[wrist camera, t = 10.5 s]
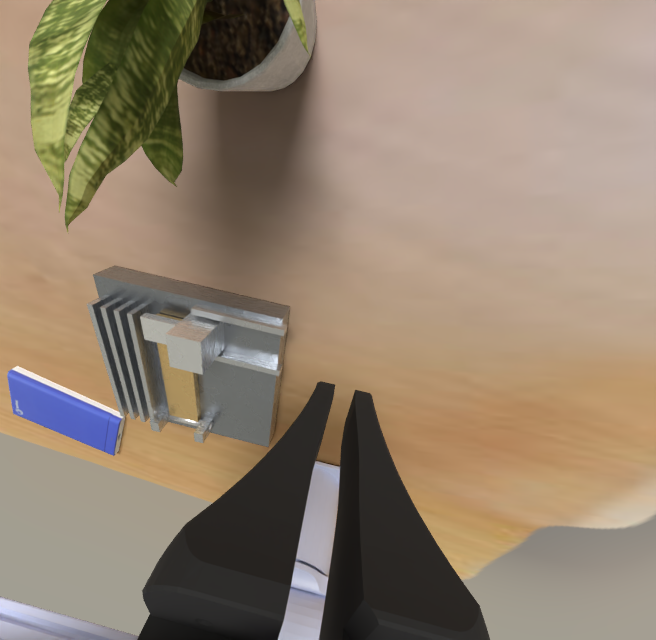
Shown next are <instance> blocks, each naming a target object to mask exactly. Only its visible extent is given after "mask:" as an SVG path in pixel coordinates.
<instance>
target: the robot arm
mask: <svg viewBox="0 0 656 640" xmlns="http://www.w3.org/2000/svg"><path fill="white" fill-rule="evenodd" d="M334 389H335V385H334V384H329V383H325V382H321V381H320V382H318V383H317V386H316V388H315V390H314V392H313V394H312V396H311V398H310V399H309V401H308V403H307V404H306V406H305V407H304V409H303V410H302V412H301V413H300V415H299V416H298V418H297V419H296V420H295V422H294V423H293V424H292V425H291V427H290V428H289V429H288V430H287V432H286V433H285V434H284V435H283V437H282V438H281V439H280V440H279V441H278V443H277V444H276V445H275V446H274V447H273V448H272V449H271V450H270V451H269V452H268V453H267V455H266V456H265V457H264V458H263V459H262V460H261V461H260V462H259V463H258V464H257V465H256V466H255V467H254V468H253V469H252V470H250V471H249V472H248V473H247V474H246V475H245V476H244V477H243V478H242V479H241V480H240V481H238V482H237V483H236V484H235V485H234V486H233V487H232V488H230V489H229V490H228V491H227V492H226V493H225V494H223V495H222V496H221V497H220V498H219V499H217V500H216V501H215V502H214V503H213V504H211V505H210V506H209V507H207V508H206V509H205V510H203V511H202V512H201V513H200V514H198V515H197V516H196V517H194V518H193V519H192V520H191V521H189V522H188V523H187V524H186V525H185V526H184V527H183V528H182V529H181V531H180V532H179V533H178V534H177V536H176V537H175V538H174V539H173V541H172V542H171V544H170V545H169V546H168V548H167V549H166V551H165V552H164V554H163V555H162V557H161V558H160V560H159V561H158V563H157V564H156V566H155V568H154V570H153V572H152V574H151V576H150V578H149V579H148V581H147V583H146V585H145V587H144V589H143V599H144V601H145V604H146V606H147V608H148V610H149V612H150V615H149V617H148V619H147V621H146V623H145V625H144V627H143V629H142V631H141V633H140V635H139V636H136V635H133V634H129V633H126V632H122V631H119V630H115V629H112V628H108V627H105V626H101V625H98V624H95V623H91V622H88V621H84V620H81V619H77V618H74V617H70V616H66V615H63V614H60V613H56V612H53V611H49V610H46V609H42V608H39V607H35V606H32V605H29V604H25V603H21V602H18V601H15V600H11V599H8V598H4V597H1V596H0V640H490V638H489V634H488V631H487V628H486V625H485V621H484V618H483V615H482V612H481V609H480V606H479V604H478V603H477V602H476V600H475V599H474V597H473V596H472V595H471V593H470V592H469V590H468V589H467V588H466V586H465V585H464V583H463V582H462V581H461V579H460V578H459V576H458V575H457V573H456V572H455V570H454V569H453V568H452V566H451V565H450V563H449V562H448V560H447V558H446V557H445V555H444V554H443V552H442V551H441V549H440V548H439V546H438V545H437V543H436V541H435V540H434V538H433V536H432V535H431V533H430V531H429V530H428V528H427V526H426V525H425V523H424V521H423V520H422V518H421V516H420V515H419V513H418V511H417V509H416V507H415V506H414V504H413V502H412V500H411V498H410V496H409V494H408V492H407V490H406V488H405V486H404V484H403V482H402V480H401V478H400V476H399V474H398V472H397V469H396V467H395V465H394V462H393V460H392V458H391V455H390V453H389V450H388V448H387V445H386V442H385V439H384V437H383V434H382V431H381V428H380V425H379V422H378V418H377V415H376V411H375V408H374V403H373V399H372V395H371V394H370V393H366V392H362V391H358V390H355V393H354V396H353V399H352V402H351V406H350V409H349V412H348V415H347V418H346V421H345V426H344V432H343V439H342V445H341V460H340V467H338V466H334V465H330V464H326V463H322V462H318V461H316V458H317V455H318V452H319V448H320V445H321V442H322V438H323V434H324V430H325V427H326V423H327V419H328V415H329V412H330V408H331V404H332V400H333V395H334ZM337 508H338V511H337ZM336 517H337V520H336ZM335 526H336V528H335ZM334 534H335V535H334Z"/></svg>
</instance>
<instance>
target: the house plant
mask: <svg viewBox="0 0 656 640" xmlns="http://www.w3.org/2000/svg"><path fill="white" fill-rule="evenodd" d="M106 1H107V0H53V1H52V2H51V4H50V5H49V6H48V8H47V9H46V10H45V12H44V15H43V17H42V19H41V21H40V23H39V25H38V27H37V29H36V31H35V33H34V35H33V38H32V40H31V42H30V44H29V60H28V72H29V80H30V88H31V126H32V133H33V140H34V147H35V151H36V153H37V155H38V157H39V159H40V161H41V162H42V164H43V166H44V168H45V170H46V172H47V174H48V175H49V177H50V179H51V181H52V183H53V185H54V187H55V189H56V191H57V193H58V195H59V211H60V206H61V201H62V196H63V185H64V162H65V161H66V160H67V158H68V156H69V154H70V152H71V150H72V148H73V147H74V145H75V143H76V142H77V140H78V138H79V136H80V134H81V133H82V131H83V130H84V128H85V127H86V126H87V125H88V123H89V122H90V121H91V120H92V119H93V118H94V119H93V121H92V123H91V125H90V127H89V129H88V132H87V134H86V136H85V138H84V140H83V142H82V144H81V146H80V149H79V151H78V154H77V157H76V159H75V162H74V164H73V167H72V170H71V172H70V175H69V183H68V193H67V201H66V209H65V224H66V228H67V232H68V225H69V224H70V223H71V222H72V221H73V220H74V219H75V218H76V217H77V216H78V215H79V214H81V213H82V212H83V211H84V210H85V209H86V208H87V207H88V205H89V203H90V202H91V200H92V198H93V196H94V194H95V192H96V191H97V189H98V188H99V186H100V184H101V183H102V181H103V180H104V178H105V176H106V175H107V174H108V173H110V172H111V171H112V170H114V169H115V168H116V167H118V166H119V165H121V164H122V163H123V162H125V161H126V160H127V159H128V158H129V157H130V156H131V155H132V154H133V153H134V152H135V151H136V150H137V149H138V148H139V147H140V146H142V148H143V150H144V152H145V154H146V155H147V157H148V158H149V160H150V161H151V162H152V164H153V165H154V166H155V168H156V169H157V170H158V171H159V172H160V173H161V174H162V175H163V176H164V177H165V178H166V179H167V180H168V181H169V182H171V183H172V184H174V185H175V186H176V184H175V183H174V182H175V180H176V179H177V177H178V176H179V174H180V173H181V171H182V163H183V143H182V133H181V124H180V116H179V107H178V94H177V82H178V79H180V80H182V81H184V82H186V83H188V84H190V85H192V86H195V87H197V88H201V89H209V90H216V91H275V90H279V89H283V88H285V87H287V86H288V85H290V84H291V83H293V82H294V81H295V80H296V79H297V78H298V77H299V76H300V75H301V74H302V72H303V71H304V69H305V67H306V65H307V63H308V62H309V60H310V58H311V54H312V51H313V47H314V43H315V37H316V23H317V20H316V6H315V0H109V1H108V2H107V4H106V5H105V6H104V4H105V2H106ZM103 6H104V8H103ZM102 8H103V9H102ZM101 10H102V11H101ZM92 28H93V29H92ZM91 31H92V32H91ZM90 33H91V35H90ZM89 35H90V38H89ZM88 38H89V40H88ZM87 40H88V44H87V48H86V52H85V56H84V60H83V77H82V82H83V85H82V86H81V87H79V88H78V89H77V90H76V92H75V95H74V97H73V100H72V102H71V104H70V101H71V95H72V89H73V83H74V76H75V73H76V70H77V67H78V64H79V61H80V58H81V55H82V52H83V49H84V47H85V44H86V42H87ZM176 187H177V186H176Z"/></svg>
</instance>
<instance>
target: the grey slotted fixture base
mask: <svg viewBox="0 0 656 640" xmlns="http://www.w3.org/2000/svg"><path fill="white" fill-rule="evenodd" d="M93 277H94V280H95V284H96V288H97V291H98V295H99V298H98V299H96V300H94V301H92V302H90V303H88V304H87V306H88V309H89V313H90V316H91V319H92V323H93V326H94V329H95V333H96V336H97V339H98V343H99V346H100V349H101V352H102V356H103V359H104V362H105V366H106V369H107V372H108V376H109V379H110V382H111V386H112V389H113V392H114V395H115V399H116V402H117V405H118V409H119V412H120V415H121V416H123V417H125V416H126V415H127V414H128V413H129V414H130V417H131V419H134V420H135V419H136V418H137V417H138V416H139V415H140V419H141V421H142V422H146V421H147V420H148V418H149V417H150V420H151V421H150V424H151V429H152V430H154V431H158V432H160V431H161V430H162V429H163V428H164V426H165V425H166V424H167V423H168V422H172V423H175V424H179V425H183V426H187V427H191V428H195V429H196V431H195V432H194V438H195V441H196V442H200V443H204V441H205V439H206V438H207V436H208V434H209V433H210V432H211V433H215V434H219V435H223V436H227V437H230V438H234V439H238V440H242V441H246V442H250V443H254V444H258V445H262V446H266V447H269V444H270V442H271V439H272V436H273V434H274V431H275V424H276V416H277V408H278V400H279V392H280V384H281V376H282V368H283V360H284V352H285V343H286V335H287V327H288V319H289V311H290V306H285V305H281V304H277V303H272V302H268V301H264V300H260V299H255V298H251V297H247V296H242V295H238V294H234V293H230V292H225V291H221V290H217V289H212V288H208V287H204V286H200V285H195V284H191V283H187V282H182V281H178V280H174V279H170V278H165V277H161V276H157V275H152V274H148V273H144V272H140V271H135V270H131V269H127V268H123V267H118V266H113V267H110V268H108V269H105V270H103V271H101V272H98V273H96V274H93ZM145 313H149V314H154V315H156V314H157V313H159V314H163V315H167V316H171V317H176V318H180V319H184V318H185V317H186V316H187V315H188V314H190V313H192V315H196V316H200V317H205V318H209V319H213V320H217V321H221V322H224V349H223V350H222V351H221V353H220V354H219V355H218V356H217V358H216V359H215V360H214V361H213V363H212V364H211V365H210V366H209V368H208V369H207V370H206V371H205V373H204V374H203V375H202V374H198V384H199V395H200V406H201V419H200V420H199V422H196V421H192V420H188V419H184V418H180V417H176V416H172V415H170V413H169V408H168V402H167V396H166V391H165V385H164V379H163V374H162V368H161V362H160V357H159V351H158V346H157V342H153V341H149V340H145V339H144V335H143V329H142V324H141V319H140V316H142V315H143V314H145Z"/></svg>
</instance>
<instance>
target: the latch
mask: <svg viewBox="0 0 656 640" xmlns="http://www.w3.org/2000/svg"><path fill="white" fill-rule="evenodd" d="M140 319H141V324H142V329H143V335H144V339H145V340H149V341H153V342H157V343H161V344H165V345H167V350H168V357H169V364H170V367H173V368H177V369H181V370H186V371H190V372H194V373H198V374H202V375H203V374H204V373H205V371H206V370H207V369H208V368H209V366H210V365H211V364H212V363H213V361H214V360H215V359H216V358H217V356H218V355H219V354H220V353H221V351H222V350H223V349H224V322H221V321H217V320H213V319H209V318H205V317H200V316H196V315H192V313H190V314H188V315H187V316H186V317H185V318H184V319H182V320H181V321H179V320H174V319H170V318H166V317H162V316H158V315H154V314H149V313H145V314H143V315H142V316H140Z"/></svg>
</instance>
